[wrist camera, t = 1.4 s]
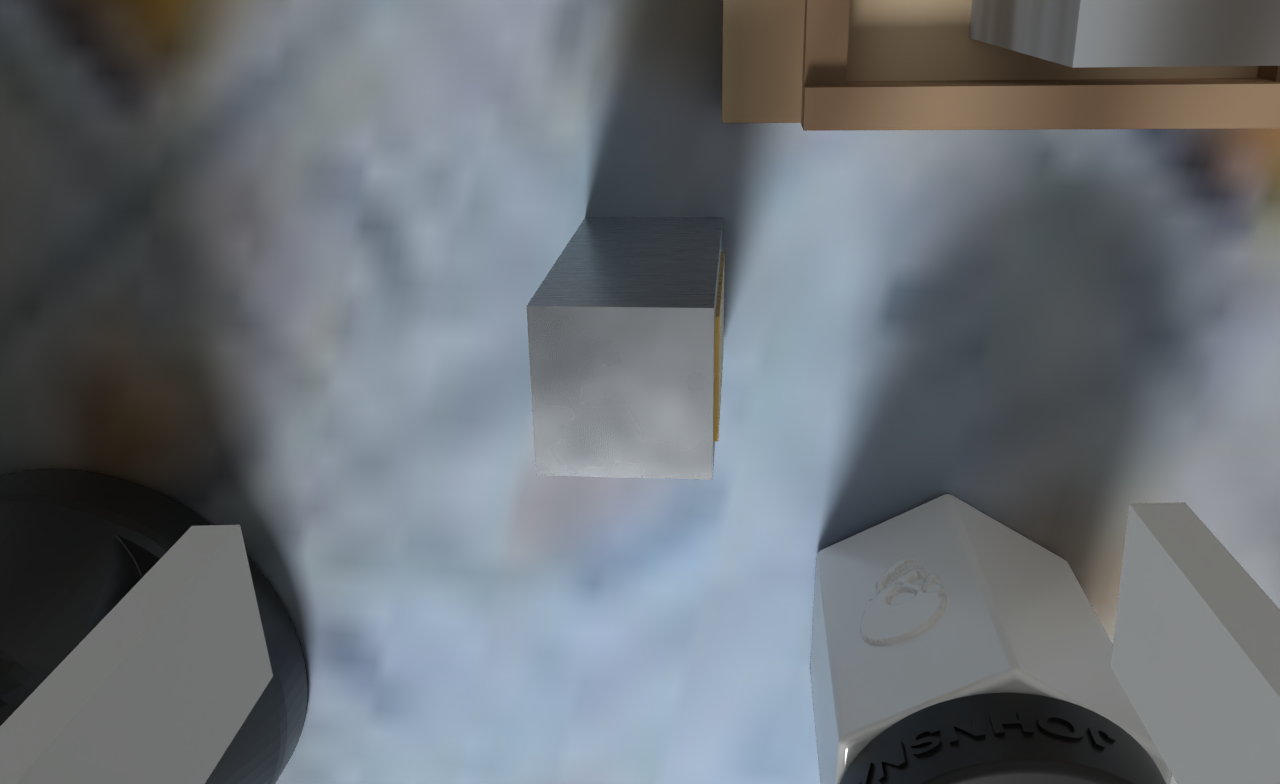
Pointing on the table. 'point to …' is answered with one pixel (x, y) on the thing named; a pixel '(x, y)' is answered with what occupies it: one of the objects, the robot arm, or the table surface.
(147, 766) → the robot arm
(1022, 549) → the jar
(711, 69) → the table surface
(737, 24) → the light wooden long frame
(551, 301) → the grey rectangular prism
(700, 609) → the table surface
